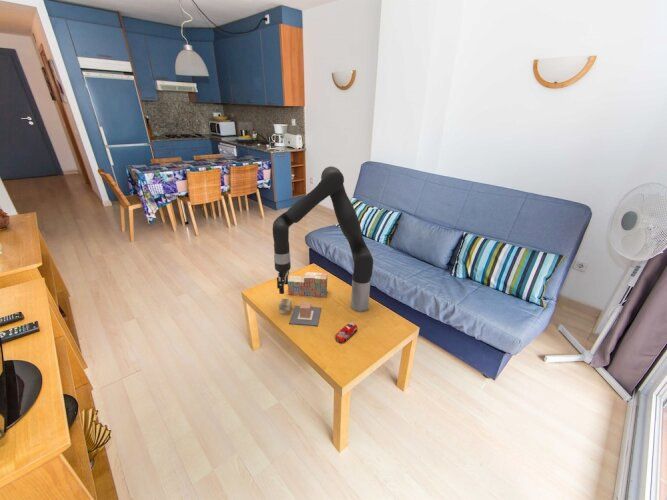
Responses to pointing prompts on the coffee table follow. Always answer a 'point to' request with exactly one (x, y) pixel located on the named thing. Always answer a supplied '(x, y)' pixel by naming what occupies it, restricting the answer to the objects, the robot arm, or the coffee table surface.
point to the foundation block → (305, 310)
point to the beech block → (285, 306)
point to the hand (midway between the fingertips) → (283, 288)
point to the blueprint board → (305, 321)
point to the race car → (346, 332)
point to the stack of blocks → (308, 285)
